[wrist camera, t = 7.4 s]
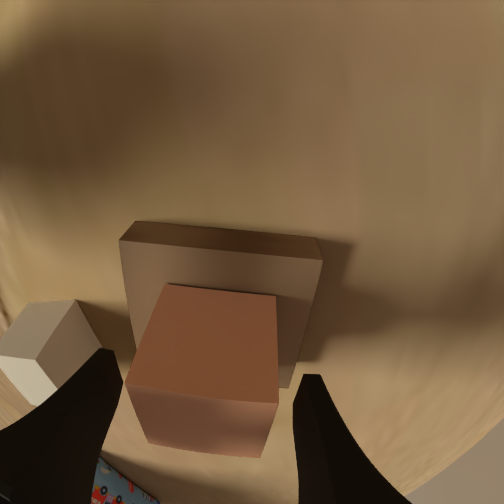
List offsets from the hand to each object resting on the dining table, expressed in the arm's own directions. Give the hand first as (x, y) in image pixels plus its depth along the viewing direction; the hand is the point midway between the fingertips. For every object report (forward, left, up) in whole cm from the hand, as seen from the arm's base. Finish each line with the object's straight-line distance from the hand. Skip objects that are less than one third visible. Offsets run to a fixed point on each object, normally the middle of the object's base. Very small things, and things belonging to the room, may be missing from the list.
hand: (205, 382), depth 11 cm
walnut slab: (0, 0, -6) cm, 6 cm away
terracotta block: (0, 0, -3) cm, 3 cm away
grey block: (-10, -4, -5) cm, 12 cm away
